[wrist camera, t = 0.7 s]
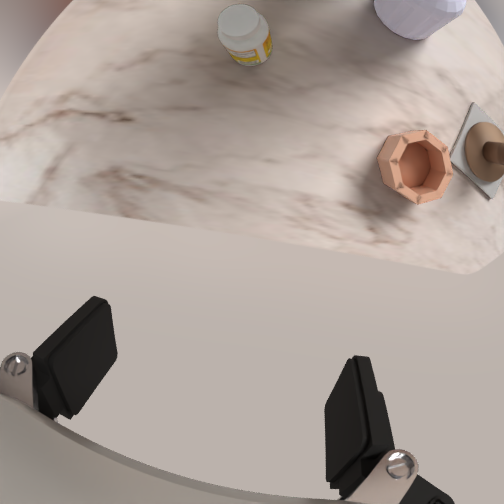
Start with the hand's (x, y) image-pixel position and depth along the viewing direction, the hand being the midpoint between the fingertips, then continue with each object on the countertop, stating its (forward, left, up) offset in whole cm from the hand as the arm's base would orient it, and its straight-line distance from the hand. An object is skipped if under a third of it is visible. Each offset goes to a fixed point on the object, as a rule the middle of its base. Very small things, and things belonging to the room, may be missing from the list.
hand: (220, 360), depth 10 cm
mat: (-22, +23, -28) cm, 43 cm away
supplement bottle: (-17, -11, -29) cm, 35 cm away
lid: (-22, +23, -28) cm, 42 cm away
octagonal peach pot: (-13, +13, -28) cm, 34 cm away
